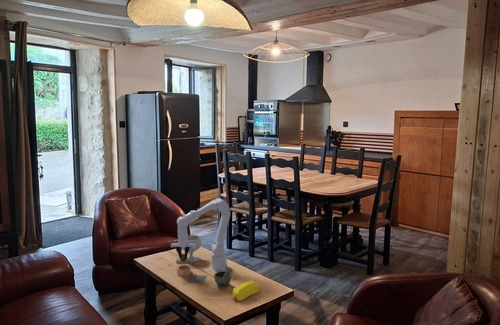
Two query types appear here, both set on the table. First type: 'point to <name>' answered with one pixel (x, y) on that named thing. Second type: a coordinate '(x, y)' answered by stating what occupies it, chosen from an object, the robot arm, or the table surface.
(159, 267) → the table surface
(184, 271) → the bowl
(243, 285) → the yellow rounded block
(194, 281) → the mat
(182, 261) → the lid
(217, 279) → the mortar and pestle
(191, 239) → the chalice
